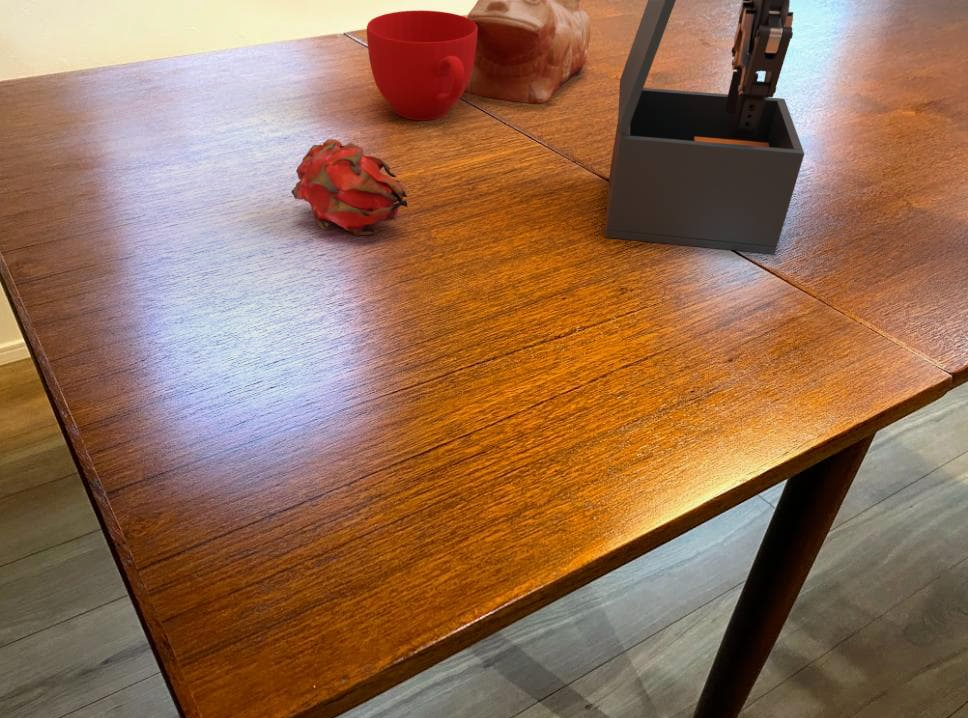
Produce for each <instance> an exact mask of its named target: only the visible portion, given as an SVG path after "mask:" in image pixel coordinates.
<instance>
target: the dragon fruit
mask: <svg viewBox="0 0 968 718" xmlns="http://www.w3.org/2000/svg"><path fill="white" fill-rule="evenodd" d="M383 168H384V171H385V173H387V174H384V173H382V172H381V171H380V170H382V169H383ZM390 170H391V166H390V165H389V164H388V163H387V162H385V161H384V160H382V159H381V158H379V157H376V156H372V155H365V154H364V149H363V148H362V147H361V146H359V145H358V144H354V143H353V142H350V143H347V144H345V145H343V144H342V142H340V140H338V139H336V138H335V139H334V138H328V139H326V140H325V141H324V142H323V143H322V144H312V146H311V147H310V148H309V150H308V152H307V153H306V154H305V155H304V156H303V157H302V161H301V162H300V164H299V165H298V166H297V168H296V169H295V171H296V175H297V178H298V179H299V181H298V182H297V183H295V186H294V187H293V188H292V189H291V191H290V192H291V194H292V195H293V199H294V200H303V201H305V202H307V203H308V204H309V205H310V207H311V209H312V215H313V217H314V219H315V221H316V223H317V225H318V226H319V228H320V229H323V230H325V229H326V228H327V227H328V226H329V222H332V223H334V224H336V225H337V226H339V227H342V228H343V229H344V230H346V231H347V232H351V233H353V234H354V235H357V236H371V235H374V234H377V233H380V231H379V230H377V229H375V228H371V227H366V225H373V224H376V222H385V221H388V220H392V221H396V220H397V217H398V216H399V210H400V207H405V208H408V206H409V205H408V201H407V200H406V199H405V200H404V198H407V197H408V196H409V195H407V194H406V191H405V190H404V187H403V185H402V183H400V181H399V180H398V179H395V178H397V175H396V174H394V173H392V172H391V171H390Z"/></svg>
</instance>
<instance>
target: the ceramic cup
mask: <svg viewBox="0 0 968 718" xmlns="http://www.w3.org/2000/svg"><path fill="white" fill-rule="evenodd" d="M477 31H478V28H477V25H476V23H475V22H473V21H472V20H470V19H468V17H466V16H463V15H460V14H456V13H451V12H445V11H439V10H424V9H423V10H400V11H395V12H389V13H385V14H381V15H378V16H375V17H374V18H372V19H371V20H369V21H368V23H367V24H366V41H367V50H368V51H367V52H368V58H369V64H370V69H371V73H372V76H373V80H374V83H375V85H376V88H377V89H378V92H379V93H380V94H381V96H382V97H383V99H384V100H385V101H386V103H387V104H388V105H389V106H390V107H391V108H392V109H393V110H394V113H395V114H396V115H398V116H400V117H402V118H405V119H409V120H415V121H430V120H431V121H432V120H436V119H439V118H442V117H444V116H446V115H447V114H448V113H449V111H450V110H451V109H452V108H453V107H454V106H455V105H456V103H458V101H459V100H460V99H461V97H462V95H463V94H464V93H465V92H466V91H465V89H466V87H467V85H468V82H469V80H470V76H471V73H472V69H473V64H474V58H475V51H476V43H477Z"/></svg>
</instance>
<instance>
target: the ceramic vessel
mask: <svg viewBox="0 0 968 718" xmlns="http://www.w3.org/2000/svg"><path fill="white" fill-rule="evenodd" d="M580 2H581V0H477V2H476V3H475V4H474V6H473V8H471V10H470V11H469V12H468V14H467V18H468V19H470V20H472V21H473V22H475V23H476V25H477V28H478V31H477V43H476V51H475V58H474V64H473V69H472V73H471V76H470V80H469V82H468V85H467V87H466V89H465V91H464V92H467V93H471V94H474V95H475V94H476V95H479V96H483V97H486V98H491V99H497V100H504V101H511V102H518V103H519V102H520V103H526V104H535V105H536V104H538V105H539V104H544V103H548V102H550V100H551V98H552V96H553V95H554V93H555V92H557V91H559V90H560V88H561V87H562V86H563V85H564V84H565V83H567V82H568V81H569V80H571V79H572V78H573V77H575V76H578V75H579V74H580V73H581V72H582V69H583V67H584V65H585V63H586V61H587V60H588V50H589V45H590V40H591V31H592V28H591V21H590V18H589V16H588V14H587V12H585V11H584V10H583V9H581V8H580Z"/></svg>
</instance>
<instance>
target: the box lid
mask: <svg viewBox="0 0 968 718" xmlns="http://www.w3.org/2000/svg"><path fill="white" fill-rule="evenodd" d="M676 1H677V0H647V3H646V5H645V8H644V11H643V14H642V17H641V19H640V22H639V26H638V28H637V31H636V33H635V37H634V40H633V42H632V45H631V47H630V50H629V54H628V56H627V59H626V61H625V64H624V68H623V71H622V73H621V76H620V79H619V91H618V92H619V94H618V112H617V114H618V115H617V122H618V132H621V133H625V134H626V133H627V130H628V127H629V125H630V122H631V119H632V117H633V114H634V111H635V109H636V106H637V103H638V101H639V98H640V95H641V92H642V90H643V88H645V85H646V81H647V80H648V76H649V74H650V71H651V67H652V66H653V63H654V61H655V57H656V55H657V52H658V49H659V47H660V44H661V41H662V39H663V36H664V33H665V31H666V28H667V25H668V23H669V20H670V17H671V15H672V12H673V9H674V7H675V6H674V5H675V4H676Z"/></svg>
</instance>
